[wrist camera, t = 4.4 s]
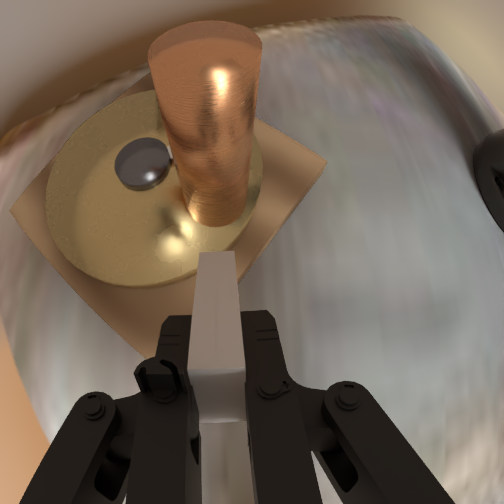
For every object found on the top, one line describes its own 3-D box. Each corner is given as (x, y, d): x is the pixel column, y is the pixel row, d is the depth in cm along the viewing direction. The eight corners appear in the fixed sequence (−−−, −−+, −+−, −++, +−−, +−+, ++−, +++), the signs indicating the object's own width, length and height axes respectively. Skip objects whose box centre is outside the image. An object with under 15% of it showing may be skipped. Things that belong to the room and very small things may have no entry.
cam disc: (153, 78, 26) (129, -39, 13) (303, 160, 23) (354, 12, 11) (23, 204, 21) (-71, 111, 8) (158, 341, 19) (32, 319, 6)
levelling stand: (157, 82, 28) (150, 47, 24) (321, 173, 26) (337, 138, 21) (20, 219, 23) (-9, 196, 18) (170, 371, 20) (152, 377, 15)
